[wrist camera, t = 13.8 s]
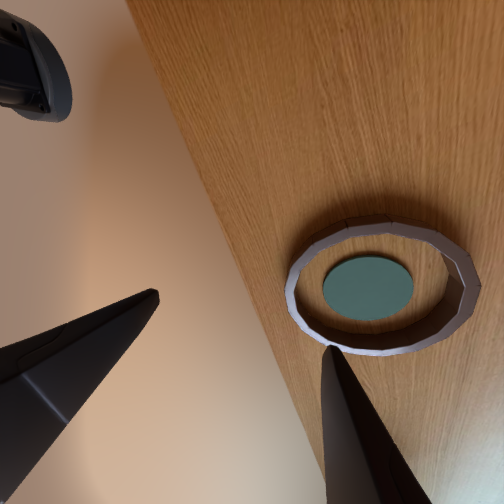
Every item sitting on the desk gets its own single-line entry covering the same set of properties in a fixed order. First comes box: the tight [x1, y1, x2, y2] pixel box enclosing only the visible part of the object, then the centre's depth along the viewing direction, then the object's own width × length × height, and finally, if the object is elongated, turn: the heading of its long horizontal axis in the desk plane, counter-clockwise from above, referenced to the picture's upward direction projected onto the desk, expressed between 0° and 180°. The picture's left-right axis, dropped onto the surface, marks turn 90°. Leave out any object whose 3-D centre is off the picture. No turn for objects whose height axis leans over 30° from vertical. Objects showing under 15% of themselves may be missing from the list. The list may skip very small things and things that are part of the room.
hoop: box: [284, 214, 481, 356], centre depth 19 cm, size 15×15×2 cm
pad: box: [323, 255, 413, 320], centre depth 19 cm, size 8×8×1 cm
